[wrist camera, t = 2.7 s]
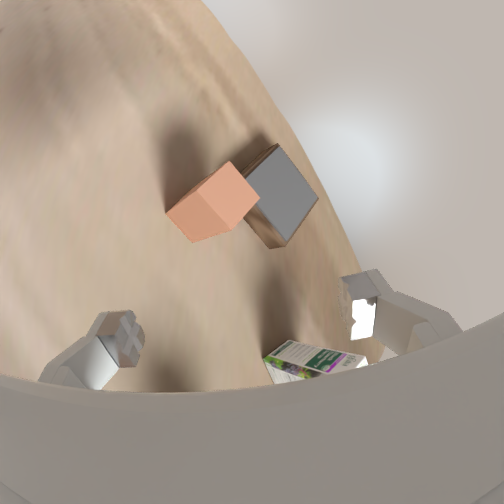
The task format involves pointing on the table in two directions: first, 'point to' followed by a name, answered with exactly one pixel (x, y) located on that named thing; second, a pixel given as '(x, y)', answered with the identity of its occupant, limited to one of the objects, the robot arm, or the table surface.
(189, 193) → the terracotta block
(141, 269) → the table surface
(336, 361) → the syrup box
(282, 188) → the walnut plinth
